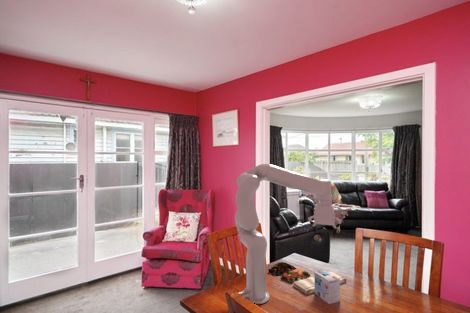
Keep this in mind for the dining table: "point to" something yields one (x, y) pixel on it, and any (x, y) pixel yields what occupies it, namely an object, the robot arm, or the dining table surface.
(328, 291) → the light bulb box
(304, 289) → the plank
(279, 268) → the food
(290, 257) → the dining table surface
